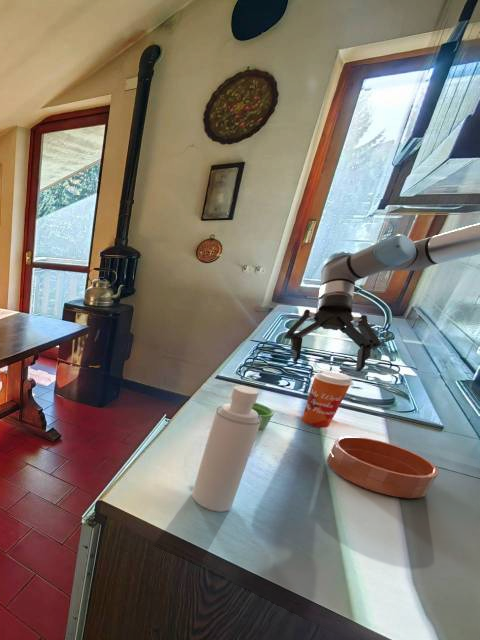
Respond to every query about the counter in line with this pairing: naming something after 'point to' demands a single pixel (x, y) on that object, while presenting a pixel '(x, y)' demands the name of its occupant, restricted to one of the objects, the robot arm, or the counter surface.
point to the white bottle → (227, 451)
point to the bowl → (382, 467)
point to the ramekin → (263, 414)
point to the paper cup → (325, 397)
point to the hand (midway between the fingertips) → (327, 364)
